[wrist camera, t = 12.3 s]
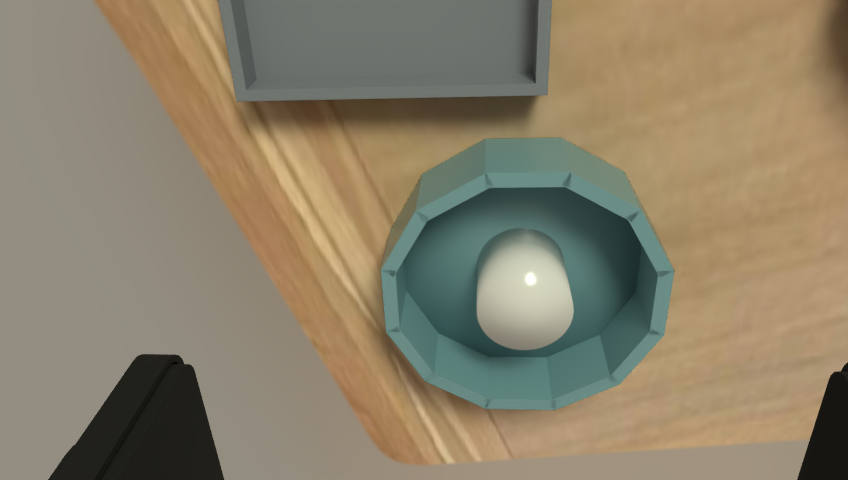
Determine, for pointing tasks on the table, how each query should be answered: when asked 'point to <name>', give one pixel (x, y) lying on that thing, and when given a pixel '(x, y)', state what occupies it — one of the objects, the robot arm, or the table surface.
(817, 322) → the table surface
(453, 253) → the bowl
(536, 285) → the pale stone
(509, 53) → the parts tray
